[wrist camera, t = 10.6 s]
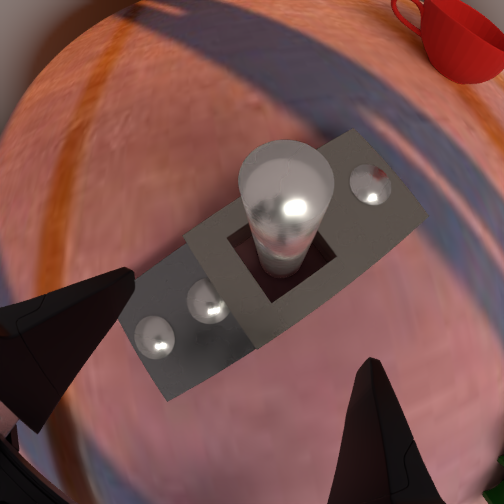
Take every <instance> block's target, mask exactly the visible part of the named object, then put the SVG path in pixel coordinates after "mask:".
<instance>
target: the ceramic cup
mask: <svg viewBox="0 0 504 504" xmlns="http://www.w3.org/2000/svg"><path fill="white" fill-rule="evenodd" d="M396 1H397V0H391V7H392V10H393V12H394V14H395V15H396V17H397V18H398V19H399V20H400V21H401V22H402V23H403V24H404V25H405V26H407V27H408V28H409V29H411V30H412V31H413V32H415V33H416V34H417V35H419V36H420V37H421V38H422V42H423V45H424V48H425V50H426V53H427V55H428V58H429V61H430V62H431V64H432V65H433V66H434V67H435V69H436V70H438V71H439V72H440V73H441V74H442V75H444V76H445V77H446V78H448V79H450V80H451V81H454V82H456V83H459V84H477V83H482V82H485V81H488V80H490V79H492V78H494V77H495V76H497V75H498V74H499V73H500V72H501V71H502V70H503V69H504V34H503V33H502V32H501V31H500V30H499V28H497V27H496V26H495V25H494V24H493V23H492V22H491V21H490V20H488V19H487V18H486V17H485V16H483V15H482V14H481V13H479V12H478V11H476V10H475V9H473V8H472V7H470V6H469V5H467V4H465V3H463V2H462V1H460V0H424V4H422V3H421V2H420V1H419V0H411V1H412V2H414V3H415V4H416V5H417V7H418V8H419V10H420V14H421V26H420V29H418V28H417V27H415V26H414V25H412V24H411V23H410V22H409V21H407V20H406V19H405V18H404V17H403V16H402V15H401V14H400V12H399V11H398V9H397V6H396Z"/></svg>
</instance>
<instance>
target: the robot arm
mask: <svg viewBox="0 0 504 504" xmlns="http://www.w3.org/2000/svg"><path fill="white" fill-rule="evenodd" d="M134 291H135V276H134V272H133V270H131V269H129V268H127V267H122V268H119V269H116V270H113V271H110V272H107V273H104V274H101V275H98V276H95V277H92V278H89V279H87V280H84V281H81V282H78V283H75V284H72V285H69V286H66V287H64V288H61V289H58V290H55V291H52V292H49V293H47V294H44V295H41V296H38V297H35V298H32V299H29V300H26V301H23V302H19V303H16V304H12V305H8V306H5V307H1V308H0V504H78V503H76V502H75V501H74V500H72V499H71V498H70V497H68V496H67V495H66V494H64V493H63V492H62V491H61V490H59V489H58V488H57V487H56V486H54V485H53V484H52V483H51V482H50V481H48V480H47V479H46V478H45V477H44V476H43V475H42V474H40V473H39V472H38V471H37V470H36V469H35V468H34V467H33V466H32V465H31V464H30V463H29V462H28V461H26V460H25V459H24V458H23V457H22V456H21V455H20V454H19V443H18V435H17V425H16V423H17V422H18V420H19V419H20V420H21V421H22V422H23V423H24V424H26V425H27V426H28V427H29V428H30V429H32V430H33V431H34V432H35V433H36V434H38V433H39V432H40V430H41V429H42V427H43V425H44V424H45V422H46V421H47V419H48V418H49V416H50V414H51V413H52V411H53V410H54V408H55V407H56V405H57V404H58V402H59V401H60V399H61V397H62V396H63V394H64V393H65V391H66V390H67V388H68V387H69V386H70V384H71V383H72V381H73V380H74V378H75V377H76V375H77V374H78V372H79V371H80V370H81V368H82V367H83V365H84V364H85V363H86V361H87V360H88V358H89V357H90V356H91V354H92V353H93V351H94V350H95V349H96V347H97V346H98V345H99V343H100V342H101V341H102V339H103V338H104V337H105V335H106V334H107V333H108V331H109V330H110V329H111V327H112V326H113V325H114V323H115V322H116V320H117V319H118V317H119V316H120V314H121V312H122V311H123V309H124V307H125V306H126V304H127V302H128V301H129V299H130V298H131V296H132V294H133V293H134ZM413 439H414V438H413V435H412V433H411V430H410V428H409V425H408V423H407V420H406V418H405V416H404V413H403V411H402V408H401V406H400V404H399V401H398V399H397V397H396V395H395V392H394V390H393V388H392V386H391V383H390V381H389V379H388V377H387V375H386V372H385V370H384V368H383V366H382V364H381V362H380V360H378V359H375V358H371V357H369V358H368V359H367V360H366V361H365V362H364V363H363V365H362V366H361V367H360V368H359V370H358V371H357V374H356V377H355V381H354V386H353V390H352V394H351V397H350V401H349V405H348V409H347V413H346V419H345V425H344V431H343V436H342V442H341V447H340V452H339V457H338V462H337V466H336V471H335V475H334V479H333V483H332V487H331V491H330V495H329V499H328V503H327V504H446V503H445V502H444V501H443V500H442V498H441V497H440V495H439V493H438V491H437V489H436V487H435V485H434V483H433V481H432V479H431V477H430V475H429V473H428V471H427V468H426V466H425V464H424V462H423V460H422V457H421V455H420V452H419V450H418V448H417V445H416V442H415V440H413Z"/></svg>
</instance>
